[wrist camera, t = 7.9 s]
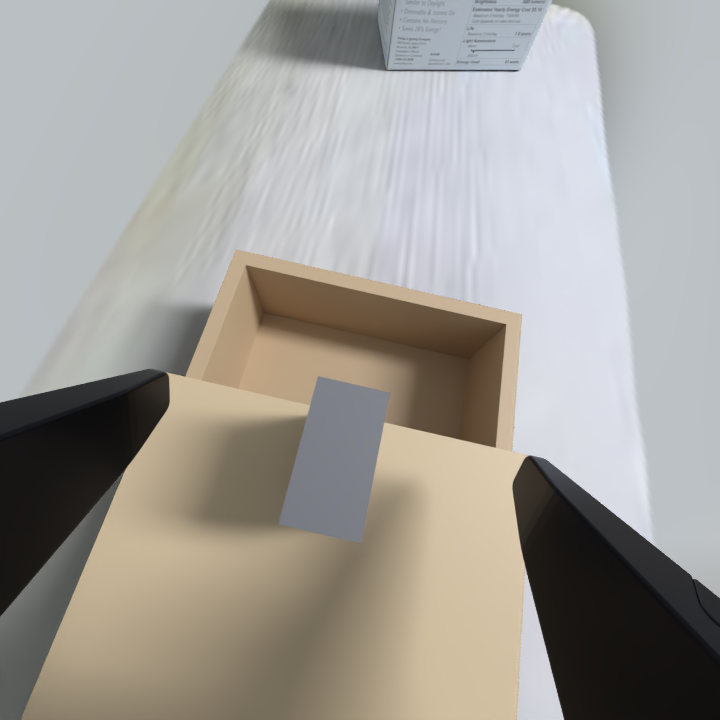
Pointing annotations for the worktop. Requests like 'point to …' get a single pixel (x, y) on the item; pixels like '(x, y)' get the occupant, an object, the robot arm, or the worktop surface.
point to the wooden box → (364, 346)
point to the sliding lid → (295, 571)
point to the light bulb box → (459, 33)
